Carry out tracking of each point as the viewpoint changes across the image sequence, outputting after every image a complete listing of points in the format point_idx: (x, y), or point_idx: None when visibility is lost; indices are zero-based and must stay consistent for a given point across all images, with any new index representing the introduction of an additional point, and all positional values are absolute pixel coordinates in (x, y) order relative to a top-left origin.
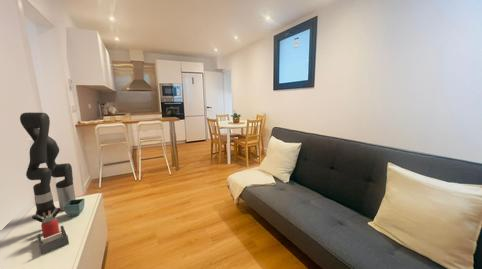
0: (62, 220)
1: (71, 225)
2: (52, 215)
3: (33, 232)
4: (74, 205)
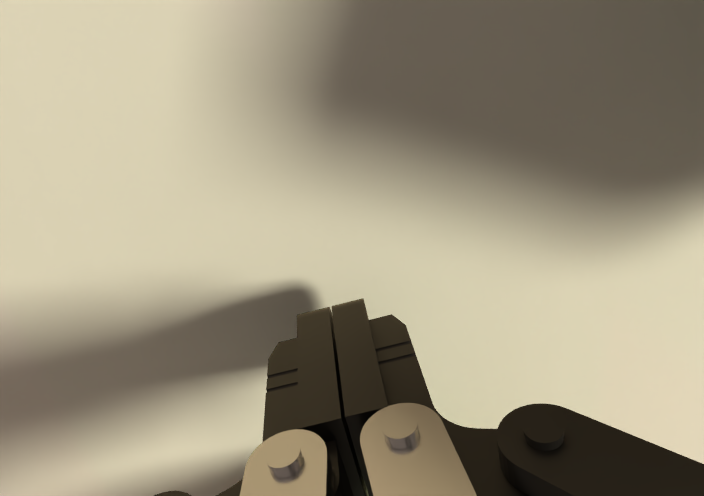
0: (597, 93)
1: (700, 448)
2: (543, 494)
3: (49, 349)
4: None
